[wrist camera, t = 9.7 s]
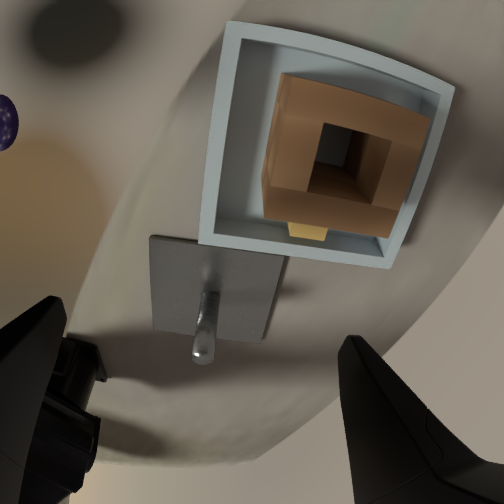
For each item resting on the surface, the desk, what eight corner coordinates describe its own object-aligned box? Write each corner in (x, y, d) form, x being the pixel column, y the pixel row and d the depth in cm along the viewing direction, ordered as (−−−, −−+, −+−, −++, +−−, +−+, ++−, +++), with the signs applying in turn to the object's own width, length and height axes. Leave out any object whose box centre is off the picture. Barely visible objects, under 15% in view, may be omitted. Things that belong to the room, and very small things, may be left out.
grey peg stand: (260, 339, 26) (261, 399, 21) (154, 326, 25) (139, 384, 20) (284, 253, 21) (293, 316, 16) (150, 235, 20) (122, 294, 16)
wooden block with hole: (347, 228, 19) (370, 278, 15) (253, 213, 19) (254, 263, 15) (386, 100, 15) (430, 118, 11) (280, 72, 14) (292, 76, 10)
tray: (378, 247, 21) (389, 269, 19) (203, 222, 20) (198, 243, 18) (432, 81, 14) (455, 87, 12) (230, 26, 13) (226, 20, 11)
